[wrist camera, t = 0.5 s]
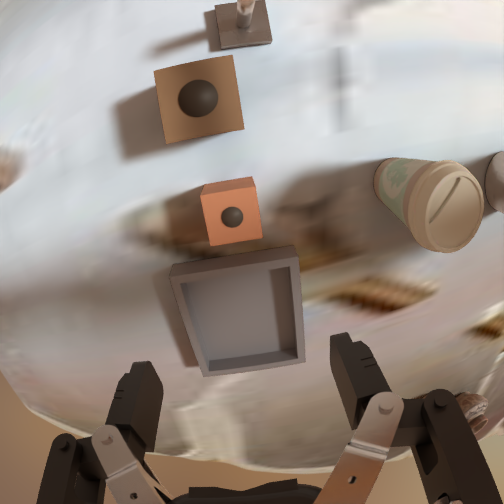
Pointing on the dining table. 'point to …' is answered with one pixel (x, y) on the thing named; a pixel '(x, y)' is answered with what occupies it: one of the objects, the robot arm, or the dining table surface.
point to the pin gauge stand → (243, 23)
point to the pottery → (473, 409)
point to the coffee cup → (432, 200)
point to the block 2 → (231, 211)
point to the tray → (242, 310)
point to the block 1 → (199, 99)
